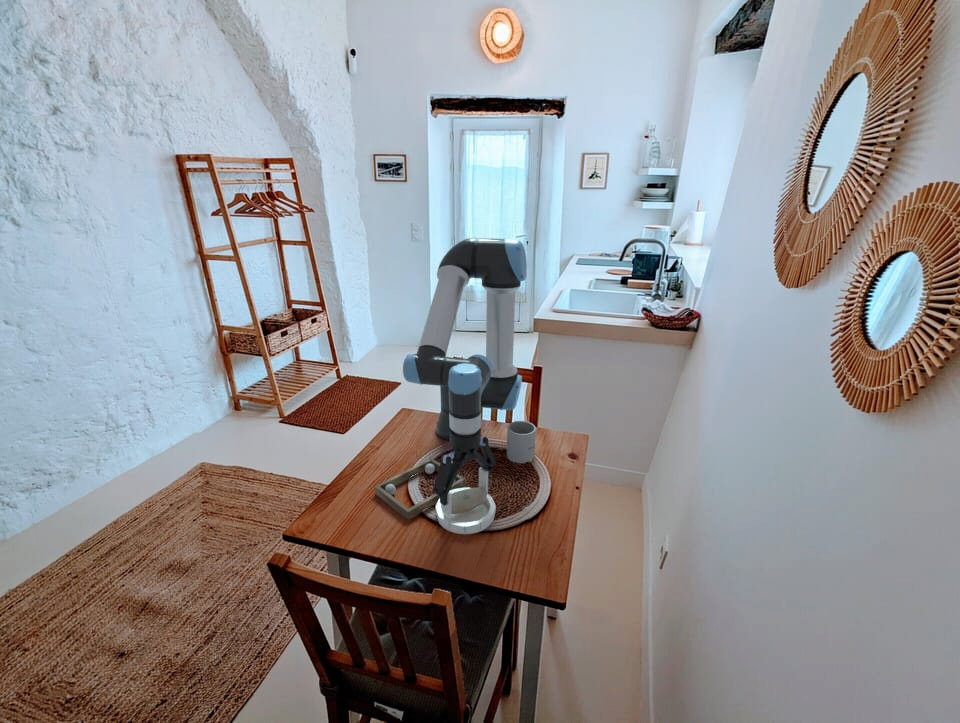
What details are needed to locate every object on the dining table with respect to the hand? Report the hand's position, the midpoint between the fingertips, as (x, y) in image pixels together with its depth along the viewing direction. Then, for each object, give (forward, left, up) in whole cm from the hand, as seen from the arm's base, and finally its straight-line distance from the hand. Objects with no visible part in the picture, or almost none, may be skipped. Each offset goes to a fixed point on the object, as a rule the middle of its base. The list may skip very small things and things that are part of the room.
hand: (465, 501), depth 120 cm
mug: (-33, -8, -4) cm, 34 cm away
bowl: (0, 0, -4) cm, 4 cm away
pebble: (+9, -20, -4) cm, 23 cm away
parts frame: (+2, -16, -4) cm, 17 cm away
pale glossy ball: (-5, -20, -4) cm, 21 cm away
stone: (0, 0, -2) cm, 2 cm away
